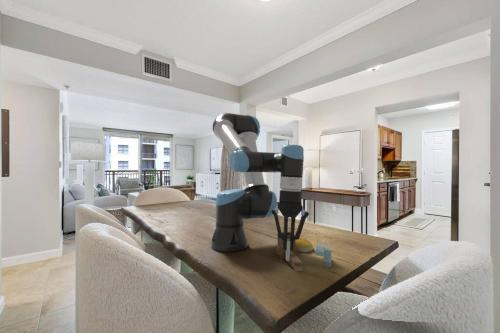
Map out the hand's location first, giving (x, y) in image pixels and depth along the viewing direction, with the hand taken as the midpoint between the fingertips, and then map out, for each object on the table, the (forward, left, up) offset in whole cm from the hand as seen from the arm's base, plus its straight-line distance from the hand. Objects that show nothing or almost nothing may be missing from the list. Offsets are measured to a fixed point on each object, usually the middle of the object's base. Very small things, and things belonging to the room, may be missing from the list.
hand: (287, 259), depth 76 cm
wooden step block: (0, +3, -2) cm, 4 cm away
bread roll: (+2, +18, -2) cm, 18 cm away
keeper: (+11, +7, -2) cm, 13 cm away
